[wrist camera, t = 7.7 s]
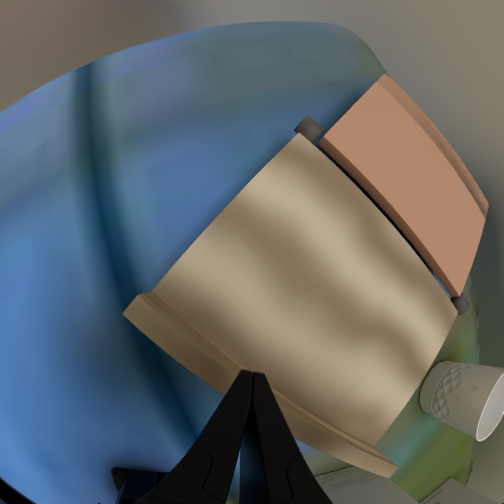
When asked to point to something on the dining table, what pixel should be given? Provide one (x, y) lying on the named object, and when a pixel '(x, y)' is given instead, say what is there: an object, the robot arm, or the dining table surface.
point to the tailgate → (412, 178)
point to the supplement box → (361, 488)
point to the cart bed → (306, 304)
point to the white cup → (465, 397)
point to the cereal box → (455, 495)
